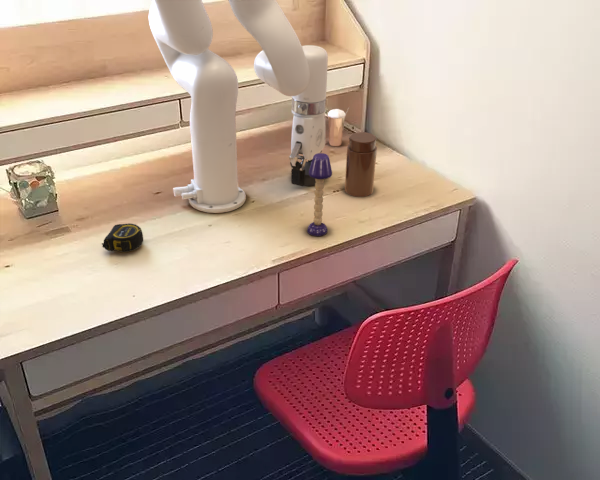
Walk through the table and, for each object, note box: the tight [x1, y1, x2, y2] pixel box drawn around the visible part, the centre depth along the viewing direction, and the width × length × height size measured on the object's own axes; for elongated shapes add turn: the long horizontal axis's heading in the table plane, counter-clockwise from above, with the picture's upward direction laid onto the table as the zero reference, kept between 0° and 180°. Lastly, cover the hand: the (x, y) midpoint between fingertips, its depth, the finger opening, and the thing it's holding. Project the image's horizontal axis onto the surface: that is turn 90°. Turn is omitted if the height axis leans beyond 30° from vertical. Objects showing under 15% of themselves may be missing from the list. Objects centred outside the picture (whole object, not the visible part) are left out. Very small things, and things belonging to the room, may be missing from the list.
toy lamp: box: [306, 152, 333, 237], centre depth 136 cm, size 5×5×17 cm
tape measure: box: [101, 223, 144, 253], centre depth 134 cm, size 7×7×4 cm
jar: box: [344, 131, 378, 198], centre depth 153 cm, size 7×7×13 cm
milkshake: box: [327, 107, 350, 147], centre depth 175 cm, size 4×5×10 cm
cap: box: [299, 161, 316, 187], centre depth 160 cm, size 8×8×3 cm
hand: (306, 176), depth 160 cm, fingers open, 9 cm apart
